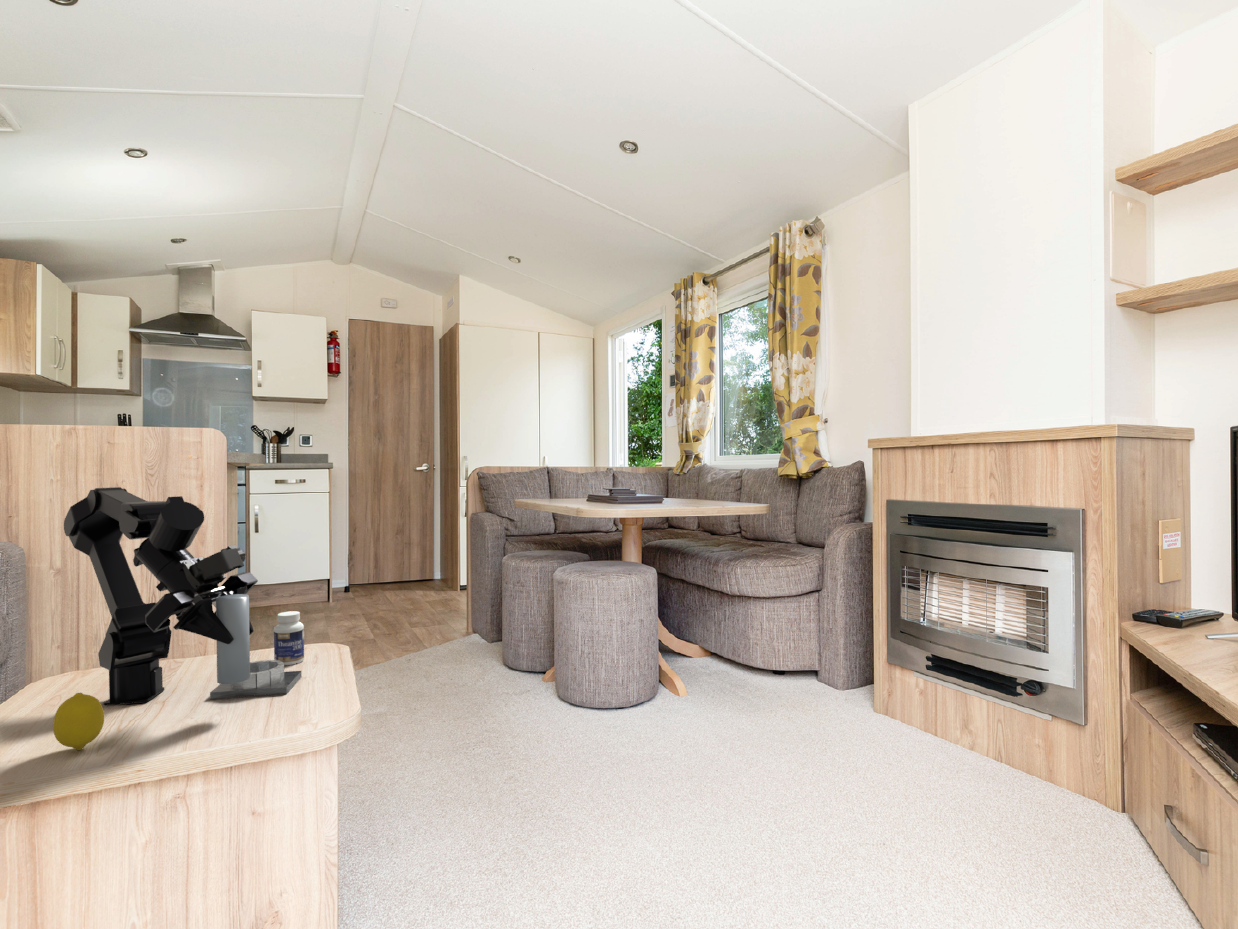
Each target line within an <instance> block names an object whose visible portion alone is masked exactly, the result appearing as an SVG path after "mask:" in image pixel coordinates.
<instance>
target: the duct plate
mask: <svg viewBox="0 0 1238 929" xmlns="http://www.w3.org/2000/svg"><path fill="white" fill-rule="evenodd" d="M301 678H302V670H293V671H292V670H291V671H290V670H289V671H285V665H284V663H283V662H282V661H278V660H274V659H263V660H254V661H250V678H249V679H247V680H245V681H242V682H238V683H233V684H218V685H217V686H216V687H215V688H214V689H212V690H211V691H210V692H209V697H210V698H209V699H210V700H221V699H222V700H224V699H236V698H237V699H238V698H250V697H265V696H277V695H279V696H280V695H287V694H288V693H289V692H290V691H291V690H292V689H293V688H294V686H295V685H296V684H297V683H298V682H299V680H301Z"/></svg>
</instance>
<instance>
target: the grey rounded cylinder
mask: <svg viewBox="0 0 1238 929" xmlns="http://www.w3.org/2000/svg"><path fill="white" fill-rule="evenodd" d="M215 611H216V616H217V617H218V618H219V619H220V621H221V622H222V623H223V624H224V626H225V627H226V628H227V629H228V631H229V632H230V634H231V635H232V637H233V638H234V640H233V641H232V642H231V643H230V644H225V643H222V642H220V641H217V640H216V682H217V684H218V685H220V684H233V683H238V682H242V681H245V680H247V679H249V678H250V662H251V660H250V659H251V658H250V656H251V655H250V651H251V650H250V649H251V648H250V646H251V645H250V644H251V642H250V635H249V620H250V595H249V594H247V593H246V594H233V595H225V596H221V597H218V598H216V607H215Z"/></svg>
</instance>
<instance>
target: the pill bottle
mask: <svg viewBox="0 0 1238 929" xmlns="http://www.w3.org/2000/svg"><path fill="white" fill-rule="evenodd" d="M300 620H301V612H300V611H297V610H294V611H293V610H291V611H290V610H289V611H283V612H279V613H278V614H277V622H278V624H276V625H275V626H274V628H273V654H274V656H273V657H274V659H273V660H278V661H282V662H283V663H284V666H291V665H296V663H297V664H300V663H302V662H304V660H305V625H304V623H302V622H301V621H300Z"/></svg>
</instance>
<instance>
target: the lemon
mask: <svg viewBox="0 0 1238 929" xmlns="http://www.w3.org/2000/svg"><path fill="white" fill-rule="evenodd" d="M104 723H105V712H104V708H103V706H102V704H101V702H100V700H99V699H98V698H97V697H95V696H93V695H90V694H84V693H83V692H76V693H75V694H74V695H73V696H70V697H68V698H67V699H65V700H64V701H63V702H62V703H61V704H60V705H59V706H58V708H57V710H56V711H55V714H54V718H53V725H52V729H53V734H54V738H55V740H56V741H57V742H58V743H60V745H62V746H65V747H67V748H73V749H74V750H76V751H80V750H83V749H84V748H85V747H86V746H87V745H88V744H90V743H92V742H93V741H94V740H95V739H96V738H98V736H99V734H100V733H101V731H102V729H103V726H104Z"/></svg>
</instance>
